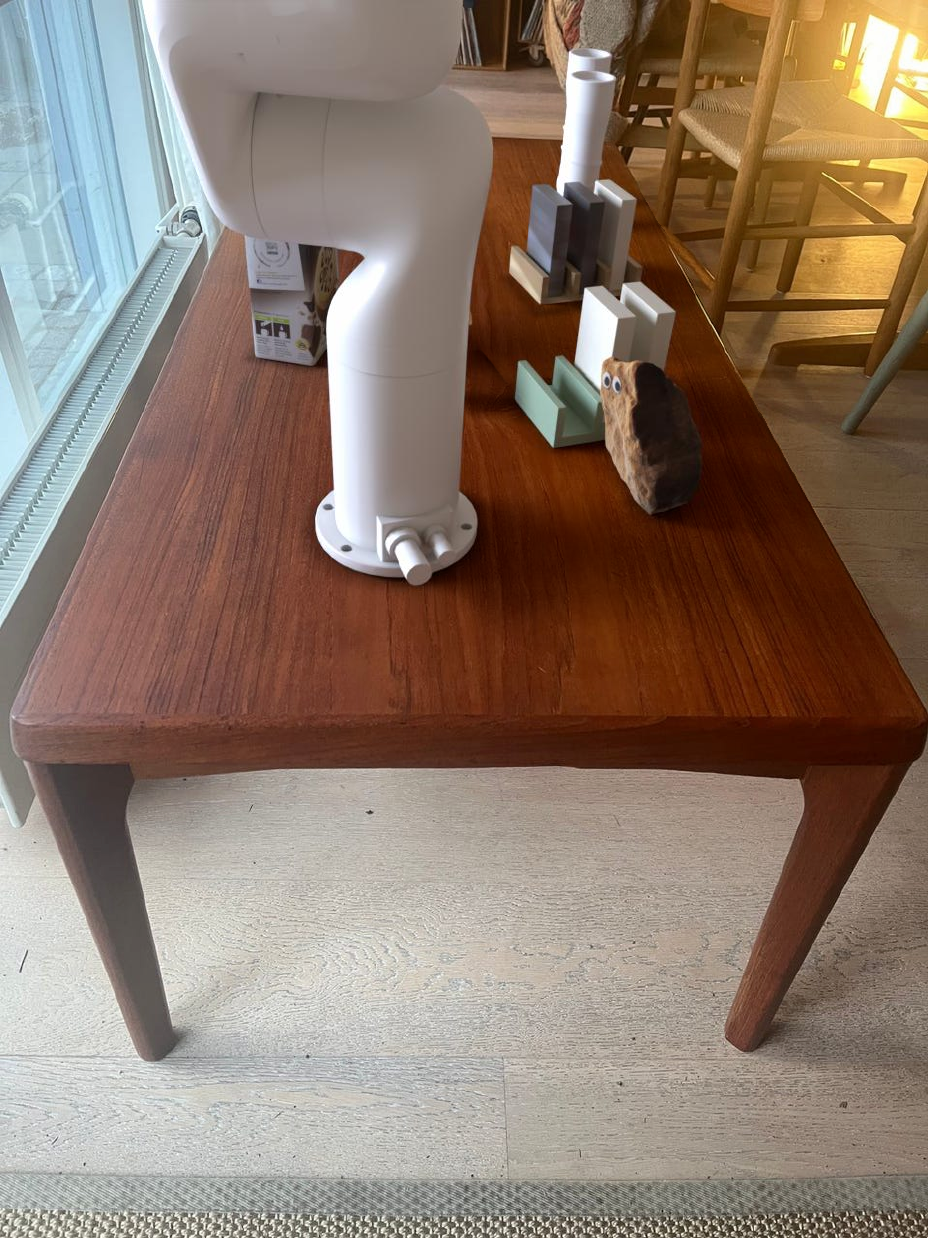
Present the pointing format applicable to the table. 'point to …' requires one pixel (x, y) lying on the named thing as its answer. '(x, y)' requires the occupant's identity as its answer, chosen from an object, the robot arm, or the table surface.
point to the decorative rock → (650, 434)
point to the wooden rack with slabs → (565, 246)
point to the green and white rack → (595, 362)
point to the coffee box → (290, 298)
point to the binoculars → (585, 116)
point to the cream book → (615, 229)
